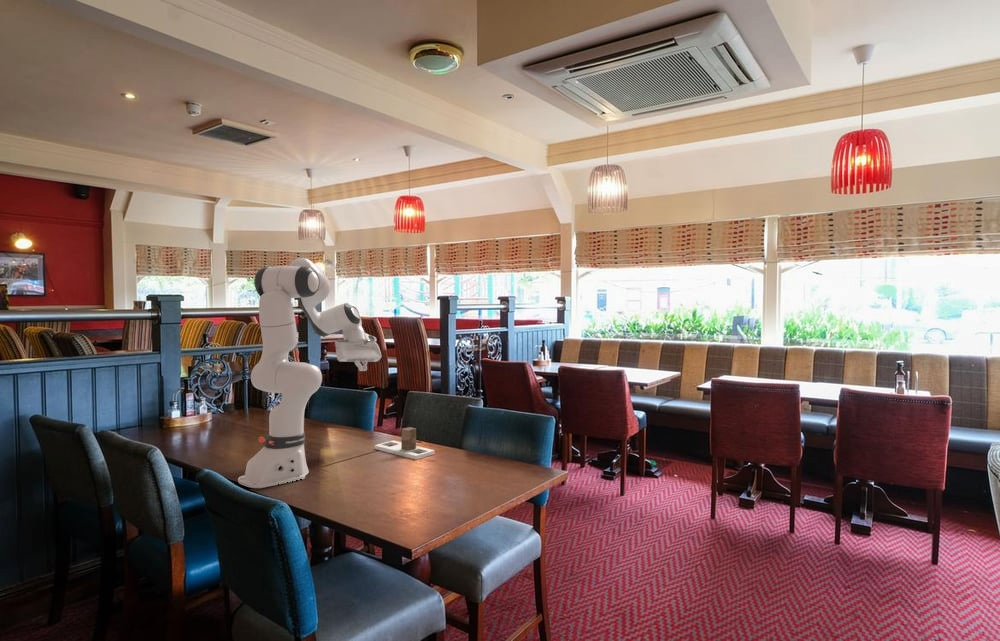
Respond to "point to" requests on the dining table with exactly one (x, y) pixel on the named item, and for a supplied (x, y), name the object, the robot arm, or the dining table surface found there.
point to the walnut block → (408, 438)
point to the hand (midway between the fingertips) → (363, 370)
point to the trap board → (396, 449)
